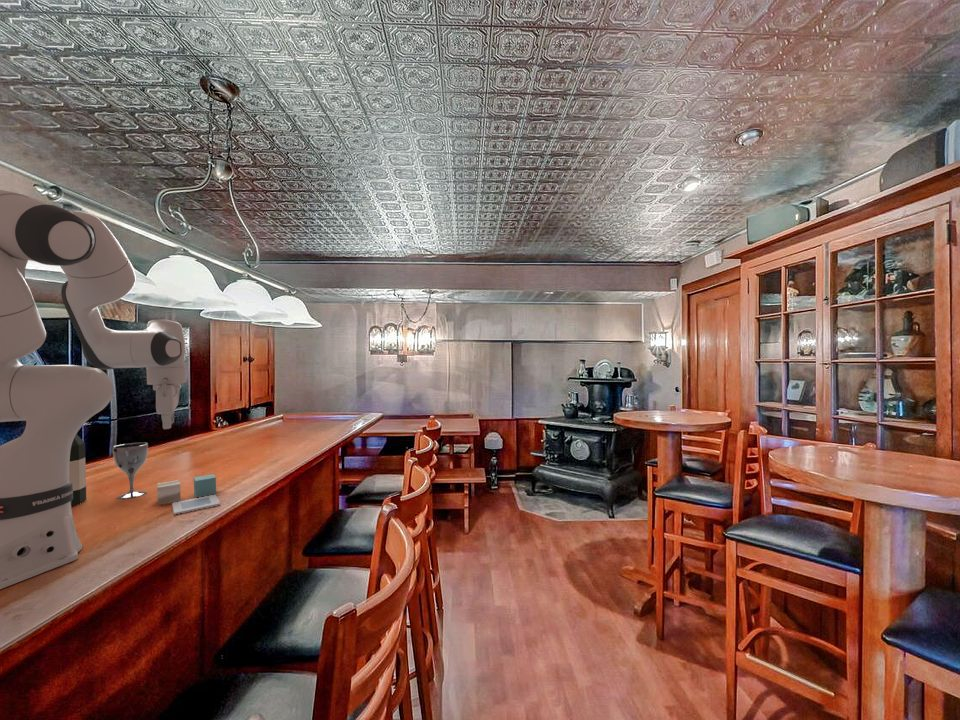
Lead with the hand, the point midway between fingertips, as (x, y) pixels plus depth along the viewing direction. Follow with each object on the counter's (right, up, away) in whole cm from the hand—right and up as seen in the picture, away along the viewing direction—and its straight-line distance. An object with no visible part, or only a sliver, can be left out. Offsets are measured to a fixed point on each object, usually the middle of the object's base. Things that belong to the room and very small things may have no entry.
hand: (168, 426), depth 114 cm
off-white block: (0, -21, 0) cm, 21 cm away
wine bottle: (-28, -22, -1) cm, 36 cm away
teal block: (+7, -21, +5) cm, 23 cm away
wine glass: (-16, -22, +6) cm, 27 cm away
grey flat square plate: (+11, -21, -4) cm, 24 cm away
